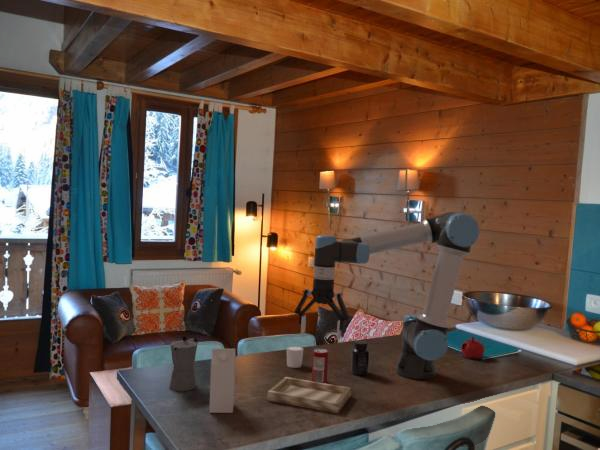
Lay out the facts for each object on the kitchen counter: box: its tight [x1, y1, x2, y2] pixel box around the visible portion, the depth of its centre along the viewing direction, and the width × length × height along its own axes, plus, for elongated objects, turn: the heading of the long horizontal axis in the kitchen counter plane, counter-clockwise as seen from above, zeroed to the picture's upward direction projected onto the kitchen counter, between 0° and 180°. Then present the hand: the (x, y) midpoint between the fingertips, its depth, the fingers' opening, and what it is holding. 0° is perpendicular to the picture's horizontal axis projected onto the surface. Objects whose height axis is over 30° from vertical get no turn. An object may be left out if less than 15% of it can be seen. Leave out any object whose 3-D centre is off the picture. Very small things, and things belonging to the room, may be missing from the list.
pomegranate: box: [460, 336, 485, 360], centre depth 234 cm, size 10×10×9 cm
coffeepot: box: [169, 334, 199, 392], centre depth 184 cm, size 15×9×18 cm, turn 162°
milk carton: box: [208, 348, 236, 414], centre depth 165 cm, size 7×7×19 cm
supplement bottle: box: [350, 340, 370, 376], centre depth 206 cm, size 7×7×12 cm
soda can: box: [311, 348, 329, 384], centre depth 193 cm, size 6×6×12 cm
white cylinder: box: [285, 345, 304, 369], centre depth 212 cm, size 7×7×7 cm
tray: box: [266, 376, 352, 414], centre depth 178 cm, size 24×16×3 cm, turn 70°
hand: (320, 336), depth 193 cm, fingers open, 13 cm apart
